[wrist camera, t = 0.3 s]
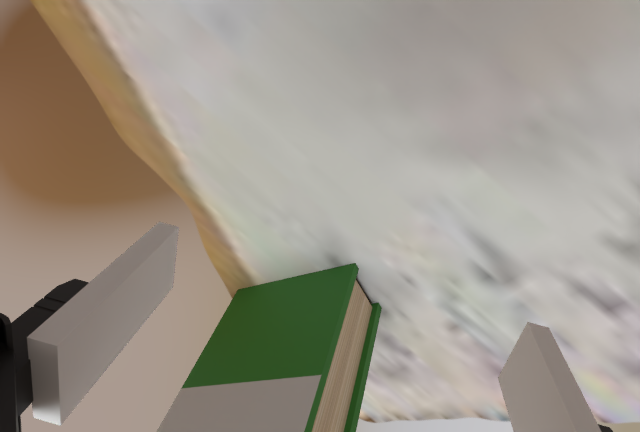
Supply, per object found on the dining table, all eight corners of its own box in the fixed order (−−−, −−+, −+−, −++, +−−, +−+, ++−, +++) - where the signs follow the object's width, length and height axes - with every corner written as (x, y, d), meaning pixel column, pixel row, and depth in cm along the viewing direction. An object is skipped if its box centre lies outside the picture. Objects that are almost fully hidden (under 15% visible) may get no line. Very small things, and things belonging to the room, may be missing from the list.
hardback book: (355, 263, 51) (289, 480, 32) (381, 307, 54) (335, 529, 36) (238, 289, 59) (131, 474, 41) (266, 327, 62) (180, 515, 44)
